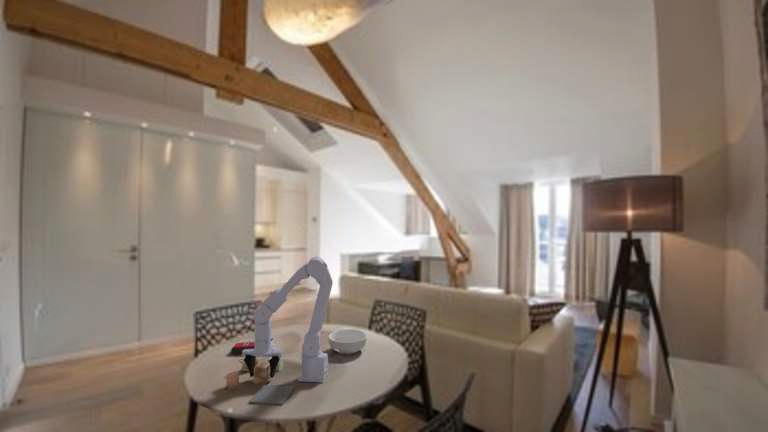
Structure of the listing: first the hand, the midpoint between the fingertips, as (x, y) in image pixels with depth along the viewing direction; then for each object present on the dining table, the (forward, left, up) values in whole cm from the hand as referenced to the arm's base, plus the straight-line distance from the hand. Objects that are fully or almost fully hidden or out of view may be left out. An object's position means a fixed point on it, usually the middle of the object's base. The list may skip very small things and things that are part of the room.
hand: (262, 376), depth 125 cm
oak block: (0, 0, -2) cm, 2 cm away
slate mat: (-8, +10, -1) cm, 13 cm away
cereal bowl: (-26, -30, -2) cm, 40 cm away
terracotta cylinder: (+8, +6, -2) cm, 10 cm away
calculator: (+17, -27, -2) cm, 32 cm away
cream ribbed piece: (+9, -8, -2) cm, 12 cm away
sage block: (-1, -10, -2) cm, 10 cm away
